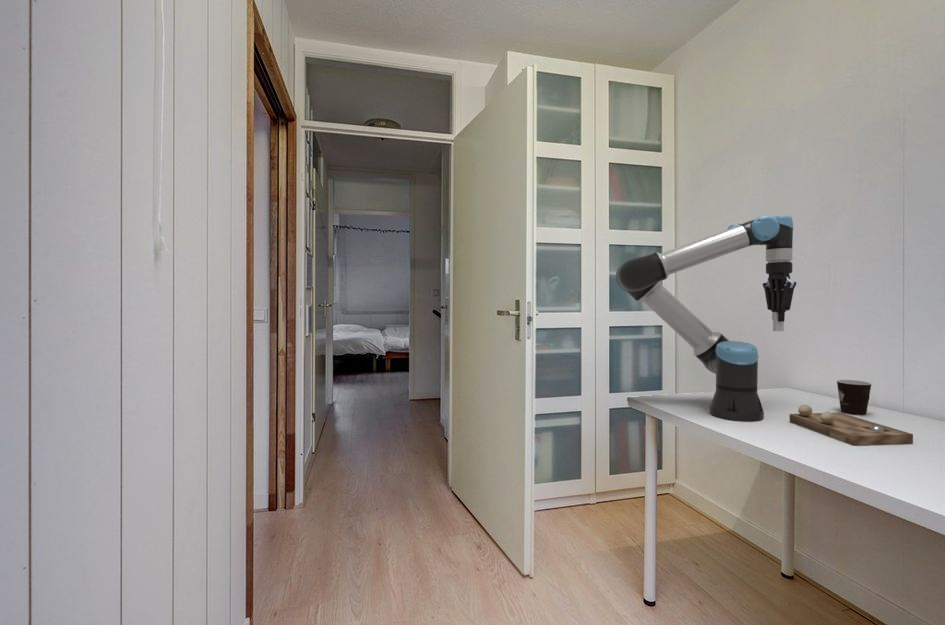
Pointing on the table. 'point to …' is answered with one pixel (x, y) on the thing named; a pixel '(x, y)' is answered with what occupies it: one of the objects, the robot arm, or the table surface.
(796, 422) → the walnut plate
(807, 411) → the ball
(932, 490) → the table surface
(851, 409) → the coffee mug
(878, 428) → the steel ball
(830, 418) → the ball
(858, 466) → the table surface
